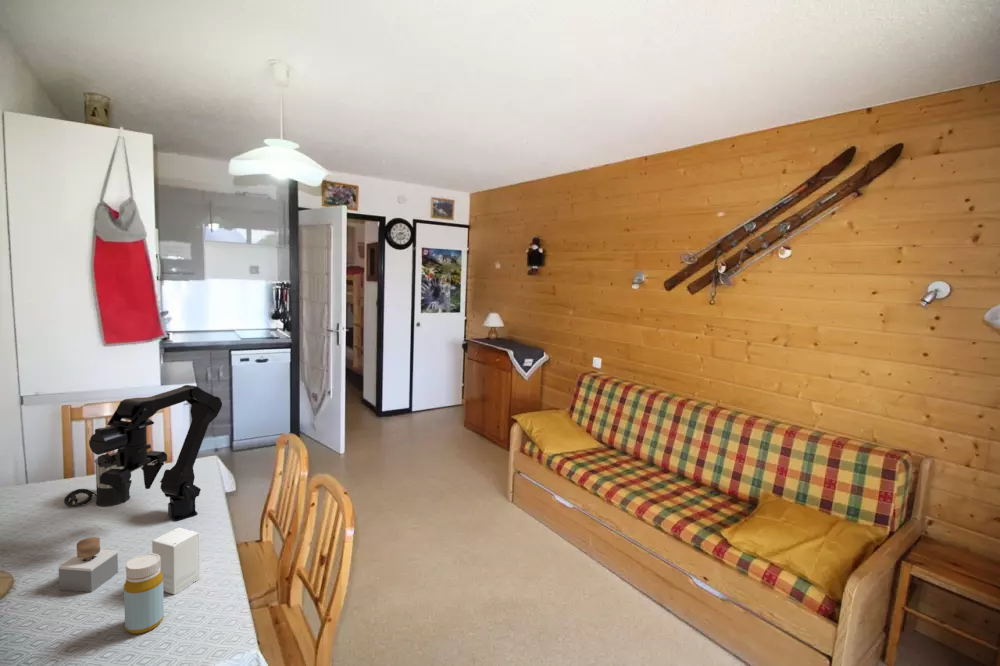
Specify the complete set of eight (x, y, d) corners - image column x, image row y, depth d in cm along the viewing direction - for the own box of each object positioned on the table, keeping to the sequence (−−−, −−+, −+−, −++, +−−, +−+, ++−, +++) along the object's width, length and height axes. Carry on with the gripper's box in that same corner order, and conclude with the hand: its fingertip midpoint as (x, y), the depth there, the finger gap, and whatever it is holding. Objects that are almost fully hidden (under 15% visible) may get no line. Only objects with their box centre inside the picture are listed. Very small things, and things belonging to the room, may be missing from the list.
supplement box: (201, 578, 127) (200, 532, 126) (173, 595, 120) (172, 546, 119) (179, 571, 130) (179, 526, 128) (151, 588, 123) (150, 539, 121)
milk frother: (135, 500, 167) (134, 457, 165) (76, 517, 153) (74, 471, 152) (118, 488, 174) (116, 447, 173) (60, 503, 161) (58, 460, 160)
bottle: (138, 613, 114) (136, 552, 112) (170, 613, 114) (169, 552, 113) (117, 635, 107) (115, 570, 105) (151, 635, 107) (150, 570, 106)
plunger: (88, 570, 126) (87, 536, 125) (105, 571, 126) (104, 537, 125) (73, 580, 122) (71, 545, 121) (90, 581, 122) (89, 547, 121)
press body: (87, 570, 128) (86, 548, 127) (117, 572, 128) (117, 550, 127) (59, 589, 120) (58, 566, 119) (91, 592, 120) (90, 568, 119)
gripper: (132, 431, 150) (133, 480, 152) (78, 452, 132) (80, 508, 134) (168, 433, 150) (168, 483, 152) (119, 455, 132) (120, 511, 133)
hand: (135, 495), depth 143 cm, fingers open, 9 cm apart
